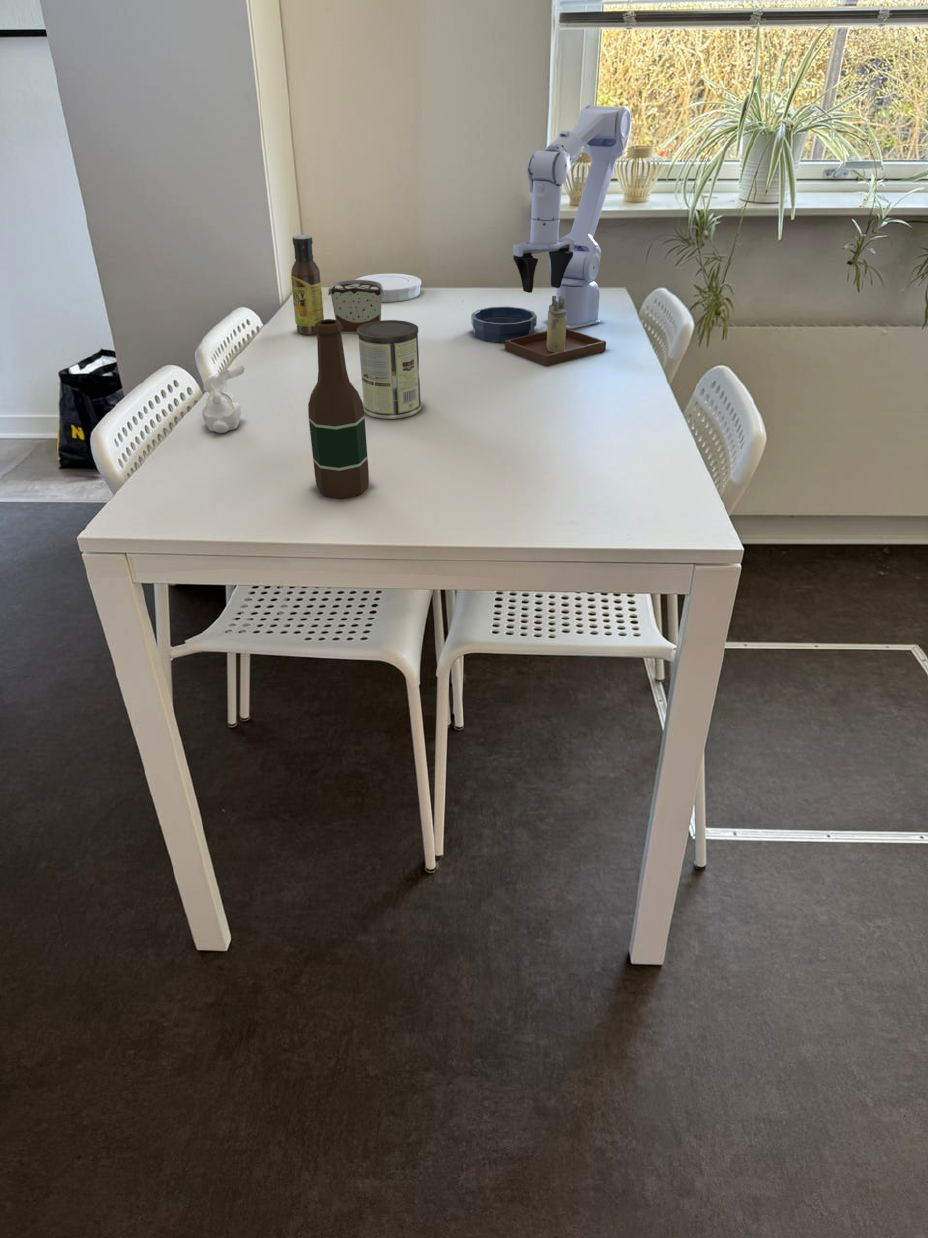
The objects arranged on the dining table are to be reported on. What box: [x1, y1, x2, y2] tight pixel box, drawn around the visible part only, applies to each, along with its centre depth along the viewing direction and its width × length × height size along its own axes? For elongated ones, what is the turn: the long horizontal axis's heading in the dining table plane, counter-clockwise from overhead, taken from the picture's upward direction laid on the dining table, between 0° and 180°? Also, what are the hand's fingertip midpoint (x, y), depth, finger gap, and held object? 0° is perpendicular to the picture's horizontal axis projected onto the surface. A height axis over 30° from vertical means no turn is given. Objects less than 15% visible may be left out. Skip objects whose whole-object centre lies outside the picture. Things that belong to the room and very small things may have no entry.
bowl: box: [470, 306, 538, 344], centre depth 193 cm, size 14×14×4 cm
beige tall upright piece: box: [546, 295, 567, 353], centre depth 181 cm, size 7×4×10 cm, turn 1°
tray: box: [504, 328, 607, 367], centre depth 184 cm, size 16×13×2 cm
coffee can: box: [356, 319, 422, 420], centre depth 153 cm, size 10×10×14 cm
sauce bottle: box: [290, 234, 325, 336], centre depth 191 cm, size 6×6×20 cm
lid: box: [355, 273, 422, 303], centre depth 223 cm, size 17×20×3 cm
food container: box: [327, 279, 385, 334], centre depth 195 cm, size 12×6×10 cm, turn 84°
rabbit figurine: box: [201, 363, 245, 434], centre depth 149 cm, size 12×8×10 cm, turn 9°
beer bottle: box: [307, 318, 370, 499], centre depth 124 cm, size 8×8×24 cm
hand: (541, 289), depth 185 cm, fingers open, 7 cm apart
